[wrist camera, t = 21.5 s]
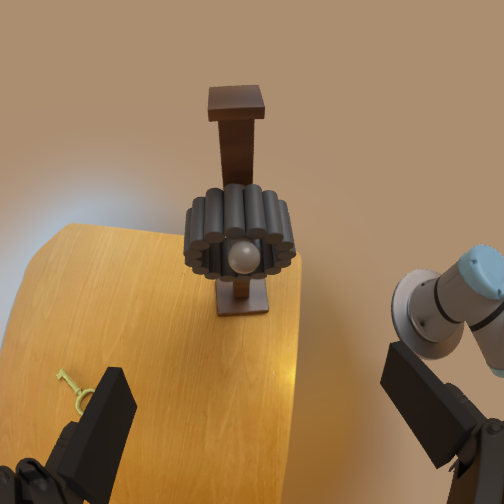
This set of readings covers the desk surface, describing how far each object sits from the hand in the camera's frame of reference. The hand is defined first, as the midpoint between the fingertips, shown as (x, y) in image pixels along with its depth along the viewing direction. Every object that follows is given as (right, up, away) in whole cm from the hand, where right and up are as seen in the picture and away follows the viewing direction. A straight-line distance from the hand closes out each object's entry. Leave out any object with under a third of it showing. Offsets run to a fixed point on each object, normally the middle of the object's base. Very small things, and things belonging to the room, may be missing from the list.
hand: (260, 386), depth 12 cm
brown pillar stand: (-2, -6, +43) cm, 43 cm away
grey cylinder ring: (-3, +5, +21) cm, 22 cm away
